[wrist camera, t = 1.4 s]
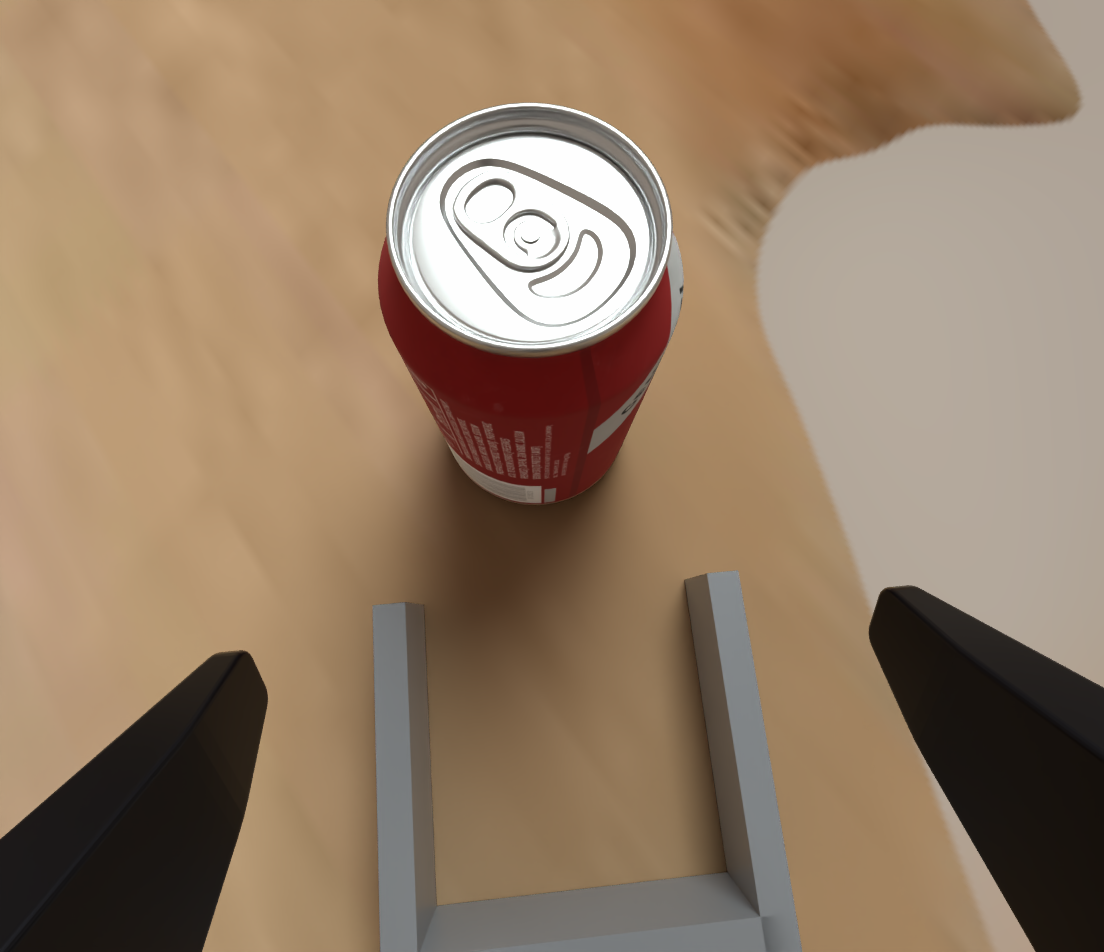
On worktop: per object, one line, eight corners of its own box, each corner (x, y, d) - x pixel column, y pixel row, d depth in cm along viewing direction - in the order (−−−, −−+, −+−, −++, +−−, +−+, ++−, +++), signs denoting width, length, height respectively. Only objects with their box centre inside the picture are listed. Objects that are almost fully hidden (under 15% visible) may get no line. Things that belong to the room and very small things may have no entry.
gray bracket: (762, 903, 19) (802, 954, 16) (406, 945, 19) (381, 1005, 16) (711, 576, 22) (738, 570, 19) (395, 607, 21) (372, 605, 18)
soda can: (542, 546, 22) (543, 460, 10) (412, 429, 23) (276, 229, 11) (657, 417, 23) (777, 209, 11) (529, 312, 24) (518, 21, 12)
